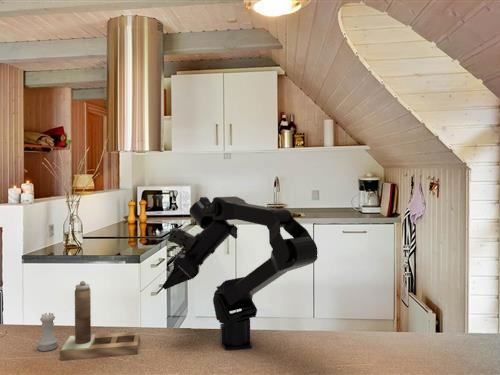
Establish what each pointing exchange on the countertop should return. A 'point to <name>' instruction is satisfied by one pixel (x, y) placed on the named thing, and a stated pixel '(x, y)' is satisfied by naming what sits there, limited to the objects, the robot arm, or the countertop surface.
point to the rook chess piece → (47, 333)
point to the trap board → (101, 346)
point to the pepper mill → (82, 313)
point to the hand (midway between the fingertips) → (166, 283)
